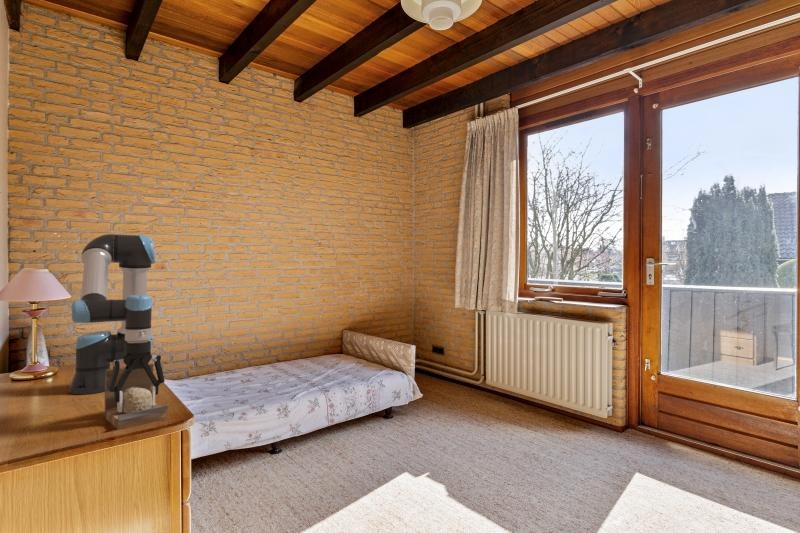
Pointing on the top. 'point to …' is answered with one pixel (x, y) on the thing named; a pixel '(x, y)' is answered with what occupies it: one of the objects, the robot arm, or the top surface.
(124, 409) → the sponge
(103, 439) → the top surface
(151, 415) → the board
